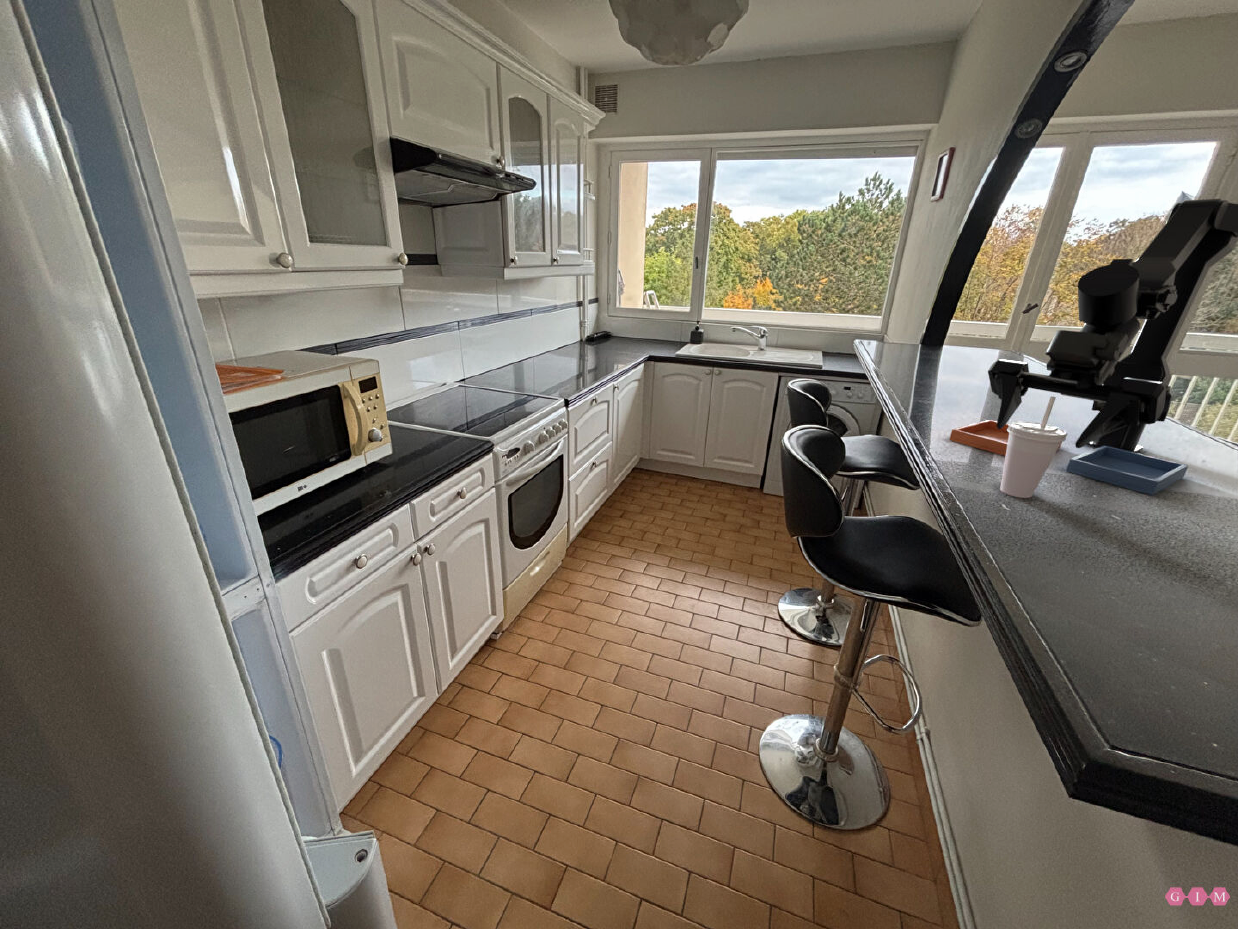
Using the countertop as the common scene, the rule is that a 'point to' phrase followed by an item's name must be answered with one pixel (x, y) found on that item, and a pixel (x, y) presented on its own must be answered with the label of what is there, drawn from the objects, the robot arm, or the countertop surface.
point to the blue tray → (1127, 469)
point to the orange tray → (983, 436)
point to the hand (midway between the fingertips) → (1035, 436)
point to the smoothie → (1029, 454)
